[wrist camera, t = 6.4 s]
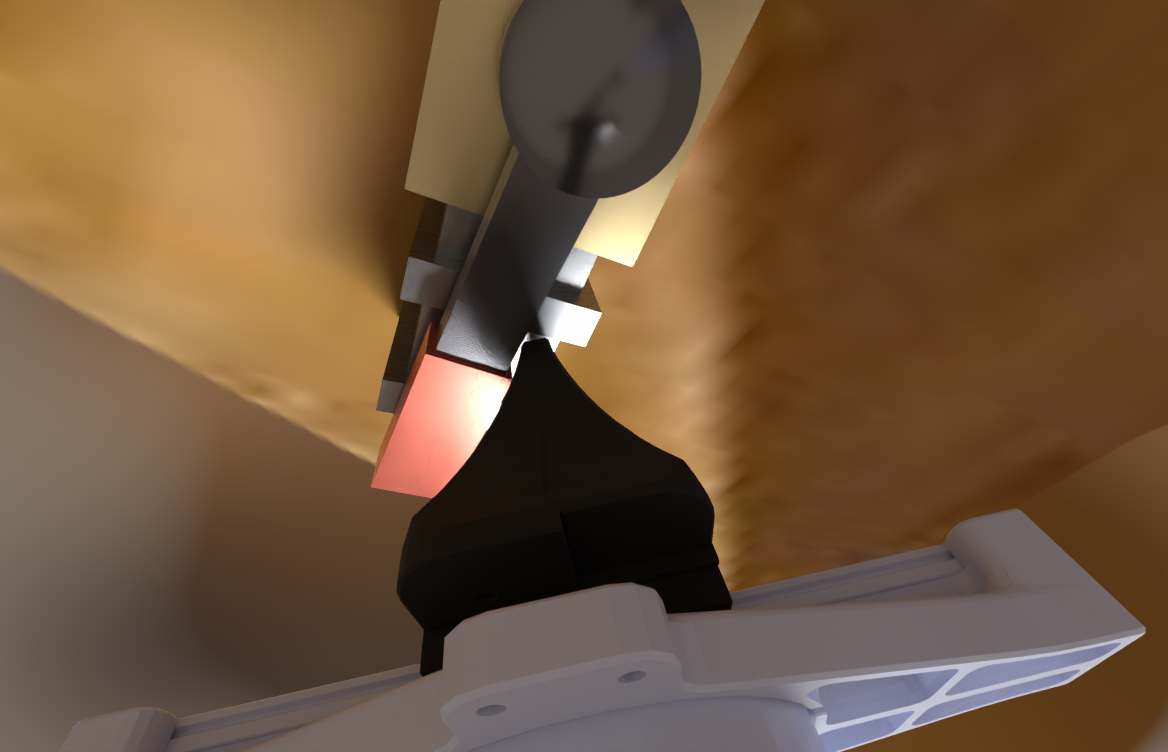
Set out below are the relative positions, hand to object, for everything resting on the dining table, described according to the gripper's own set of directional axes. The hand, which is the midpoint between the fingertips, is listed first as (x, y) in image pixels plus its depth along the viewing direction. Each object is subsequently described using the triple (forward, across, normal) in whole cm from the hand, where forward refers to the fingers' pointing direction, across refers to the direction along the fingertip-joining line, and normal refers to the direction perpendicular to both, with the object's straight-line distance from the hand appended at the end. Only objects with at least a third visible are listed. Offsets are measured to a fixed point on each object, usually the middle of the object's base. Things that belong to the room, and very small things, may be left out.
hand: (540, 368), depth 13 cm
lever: (0, +1, -3) cm, 3 cm away
